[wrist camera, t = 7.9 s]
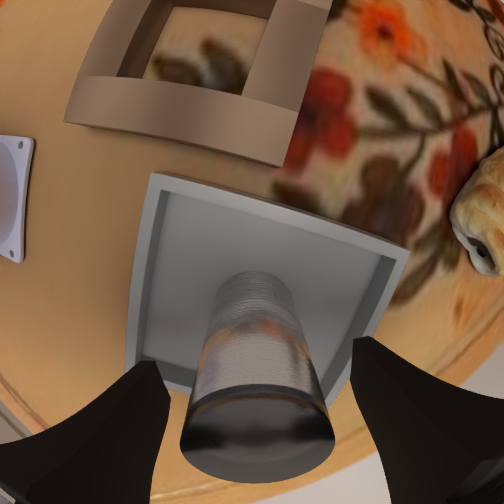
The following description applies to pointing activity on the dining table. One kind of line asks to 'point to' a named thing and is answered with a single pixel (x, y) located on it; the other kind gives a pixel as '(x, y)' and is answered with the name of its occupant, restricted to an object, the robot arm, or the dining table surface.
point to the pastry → (483, 216)
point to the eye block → (197, 98)
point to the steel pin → (256, 389)
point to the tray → (250, 259)
